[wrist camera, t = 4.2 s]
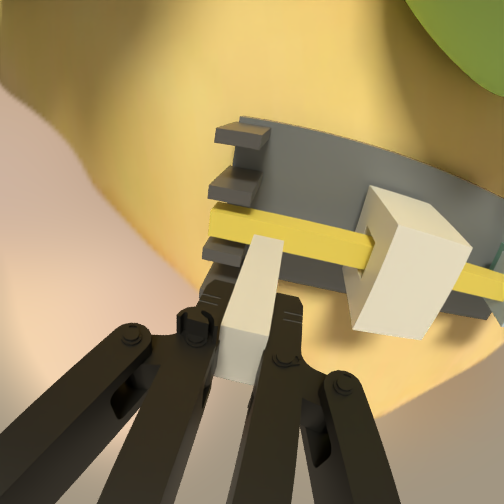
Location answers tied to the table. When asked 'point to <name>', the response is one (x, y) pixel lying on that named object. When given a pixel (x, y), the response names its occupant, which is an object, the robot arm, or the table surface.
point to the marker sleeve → (403, 266)
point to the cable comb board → (340, 210)
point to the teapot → (468, 36)
